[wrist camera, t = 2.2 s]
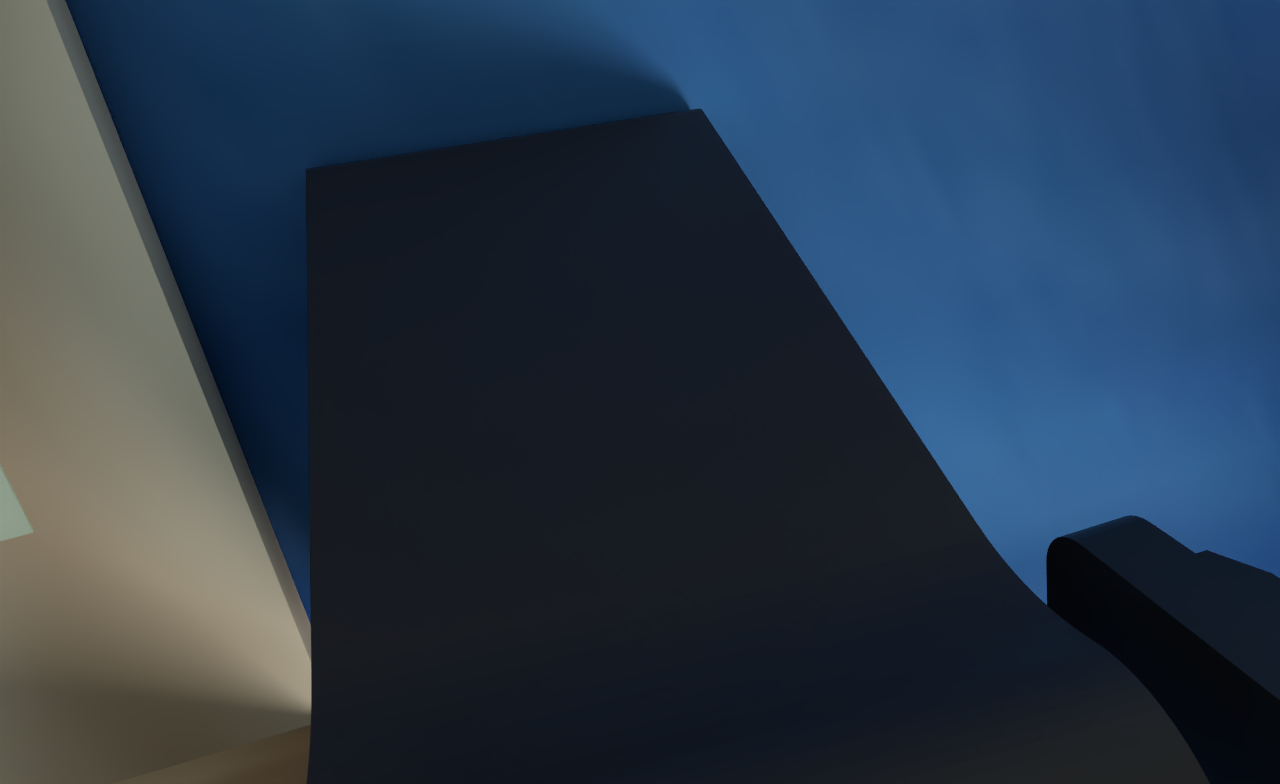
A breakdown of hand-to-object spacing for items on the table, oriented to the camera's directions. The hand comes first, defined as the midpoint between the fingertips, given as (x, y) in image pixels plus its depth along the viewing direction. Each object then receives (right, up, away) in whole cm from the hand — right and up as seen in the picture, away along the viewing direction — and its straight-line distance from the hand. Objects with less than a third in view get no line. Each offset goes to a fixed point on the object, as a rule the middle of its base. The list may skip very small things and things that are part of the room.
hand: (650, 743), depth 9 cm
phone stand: (-2, +3, +8) cm, 9 cm away
